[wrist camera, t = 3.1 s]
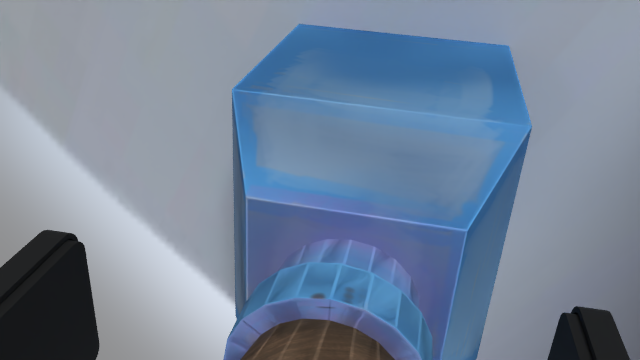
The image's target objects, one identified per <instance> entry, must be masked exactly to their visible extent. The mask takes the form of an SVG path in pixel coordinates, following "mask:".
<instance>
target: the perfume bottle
mask: <svg viewBox="0 0 640 360" xmlns="http://www.w3.org/2000/svg"><path fill="white" fill-rule="evenodd" d="M232 119H233V181H234V242H235V304H236V317H237V321H236V323H235V325H234V327H233V329H232V331H231V333H230V335H229V337H228V339H227V344H226V349H225V355H224V360H475V359H476V358H477V354H478V350H479V346H480V342H481V338H482V333H483V329H484V325H485V321H486V317H487V312H488V308H489V304H490V300H491V296H492V291H493V287H494V283H495V279H496V275H497V271H498V266H499V262H500V258H501V254H502V250H503V245H504V241H505V237H506V233H507V229H508V225H509V220H510V216H511V212H512V208H513V204H514V199H515V195H516V191H517V187H518V183H519V178H520V174H521V170H522V166H523V162H524V158H525V153H526V149H527V145H528V141H529V137H530V132H531V128H532V125H531V121H530V118H529V114H528V111H527V107H526V104H525V100H524V97H523V93H522V90H521V86H520V83H519V79H518V76H517V72H516V69H515V65H514V62H513V58H512V55H511V51H510V48H509V46H506V45H496V44H486V43H477V42H467V41H457V40H448V39H438V38H429V37H419V36H409V35H400V34H390V33H381V32H371V31H361V30H352V29H342V28H332V27H323V26H313V25H304V24H299V25H298V26H297V27H295V28H294V29H293V30H292V31H291V32H290V33H289V34H288V35H287V36H286V37H285V38H284V39H283V40H282V41H281V42H280V43H279V44H278V45H277V46H276V47H275V48H274V49H273V50H272V51H271V52H270V53H269V54H268V55H267V56H266V57H265V58H264V59H263V60H262V61H261V62H259V63H258V64H257V65H256V66H255V67H254V68H253V69H252V70H251V71H250V72H249V73H248V74H247V75H246V76H245V77H244V78H243V79H242V80H241V81H240V82H239V83H238V84H237V85H236V86H235V87H234V88H233V89H232Z"/></svg>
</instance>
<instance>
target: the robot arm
mask: <svg viewBox="0 0 640 360" xmlns="http://www.w3.org/2000/svg"><path fill="white" fill-rule="evenodd" d="M98 351H99V338H98V331H97V326H96V318H95V311H94V305H93V299H92V292H91V285H90V279H89V272H88V265H87V259H86V252H85V247H84V245H83V243H81V242H78V239H77V237H76V236H75V235H74V234H72V233H65V232H59V231H52V230H44V231H42V232H41V233H39V234H38V235H37V236H36V237H35V238H34V239H33V240H31V241H30V242H29V243H28V244H27V245H26V246H25V247H23V248H22V249H21V250H20V251H19V252H18V253H17V254H15V255H14V256H13V257H12V258H11V259H10V260H9V261H7V262H6V263H5V264H4V265H3V266H2V267H1V268H0V360H96V357H97V355H98ZM548 360H630V359H629V356H628V354H627V351H626V349H625V346H624V344H623V342H622V339H621V337H620V334H619V332H618V329H617V327H616V324H615V322H614V319H613V317H612V315H611V313H610V312H609V311H606V310H599V309H592V308H585V307H578V306H576V307H574V309H573V310H572V312H571V313H562V315H561V316H560V319H559V322H558V326H557V329H556V333H555V336H554V339H553V343H552V346H551V350H550V353H549V356H548Z"/></svg>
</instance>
